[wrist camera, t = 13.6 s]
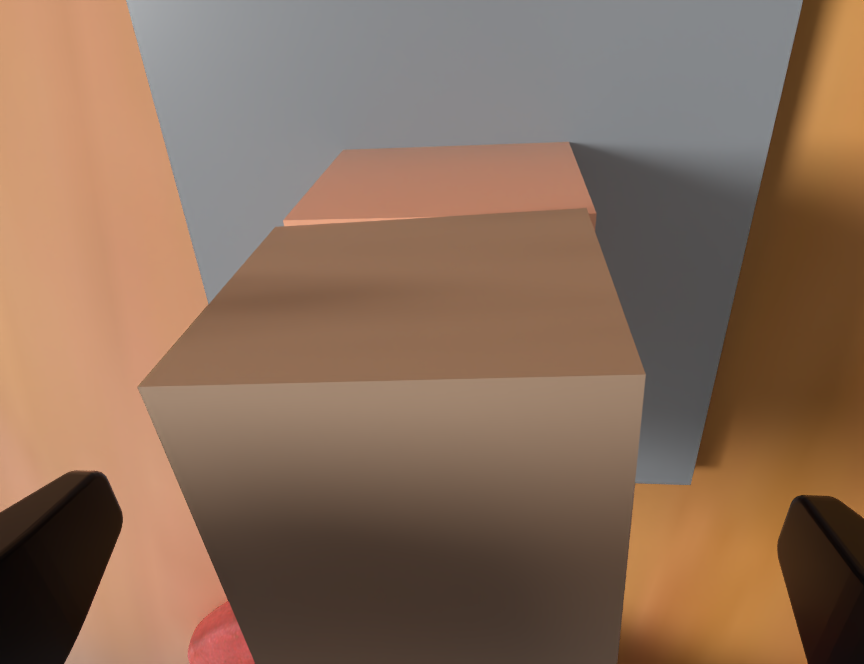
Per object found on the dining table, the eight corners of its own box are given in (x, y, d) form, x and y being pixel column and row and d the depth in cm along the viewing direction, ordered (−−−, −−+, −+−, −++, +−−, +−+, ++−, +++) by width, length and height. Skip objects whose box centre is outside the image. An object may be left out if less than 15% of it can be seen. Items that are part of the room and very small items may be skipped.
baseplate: (682, 463, 17) (690, 485, 16) (263, 451, 18) (253, 470, 17) (794, -50, 11) (815, -52, 10) (145, -13, 12) (123, -11, 11)
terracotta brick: (554, 390, 15) (570, 516, 11) (374, 388, 15) (338, 509, 12) (568, 141, 12) (596, 213, 8) (343, 150, 12) (283, 220, 9)
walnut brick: (576, 513, 11) (609, 747, 8) (344, 512, 12) (282, 728, 9) (586, 207, 8) (646, 374, 5) (275, 226, 9) (137, 387, 6)
